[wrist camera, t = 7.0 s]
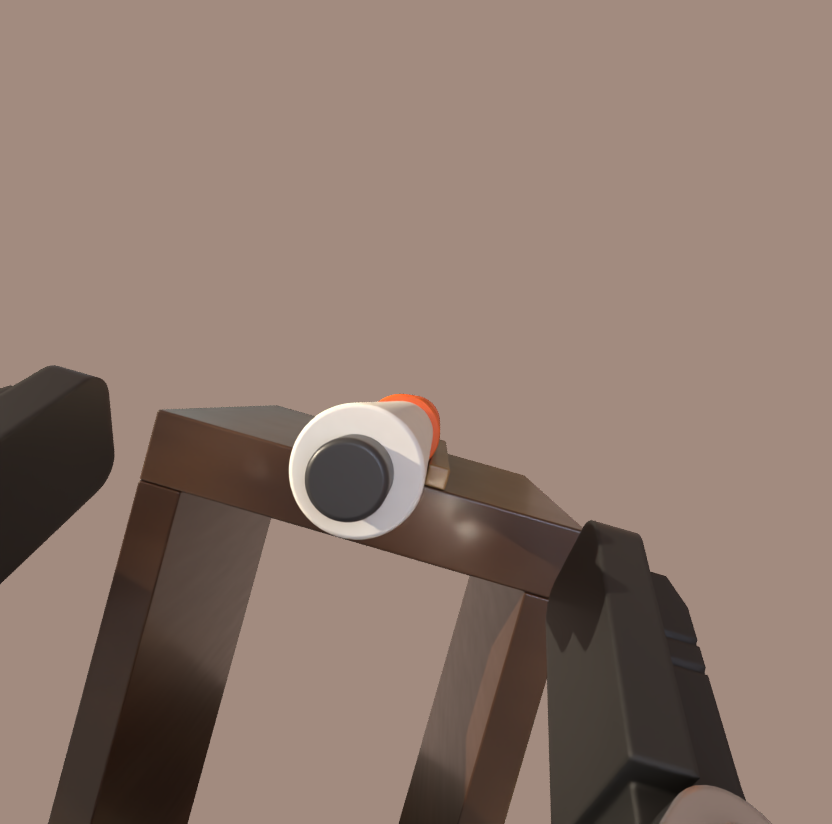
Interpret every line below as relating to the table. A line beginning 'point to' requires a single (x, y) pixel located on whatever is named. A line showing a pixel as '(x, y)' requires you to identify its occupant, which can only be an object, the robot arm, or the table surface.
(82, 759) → the stand
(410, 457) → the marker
